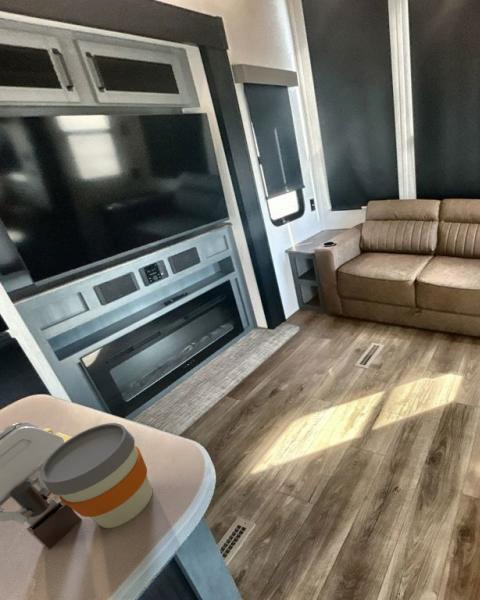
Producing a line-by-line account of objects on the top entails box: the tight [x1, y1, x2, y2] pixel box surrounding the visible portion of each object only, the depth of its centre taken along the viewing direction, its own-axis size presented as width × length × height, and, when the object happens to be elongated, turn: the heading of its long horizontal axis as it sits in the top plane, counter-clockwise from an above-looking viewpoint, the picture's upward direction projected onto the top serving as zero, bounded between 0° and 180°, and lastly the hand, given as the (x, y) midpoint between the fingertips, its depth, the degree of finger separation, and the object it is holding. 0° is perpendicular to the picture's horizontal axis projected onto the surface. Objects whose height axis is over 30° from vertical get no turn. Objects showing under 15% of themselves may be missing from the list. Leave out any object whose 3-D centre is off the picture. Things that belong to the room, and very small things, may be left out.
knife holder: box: [25, 500, 82, 550], centre depth 64 cm, size 5×2×5 cm, turn 159°
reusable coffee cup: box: [39, 422, 153, 529], centre depth 65 cm, size 13×12×15 cm
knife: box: [10, 482, 61, 530], centre depth 62 cm, size 4×3×12 cm, turn 159°
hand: (39, 506), depth 61 cm, fingers closed on knife, 2 cm apart
